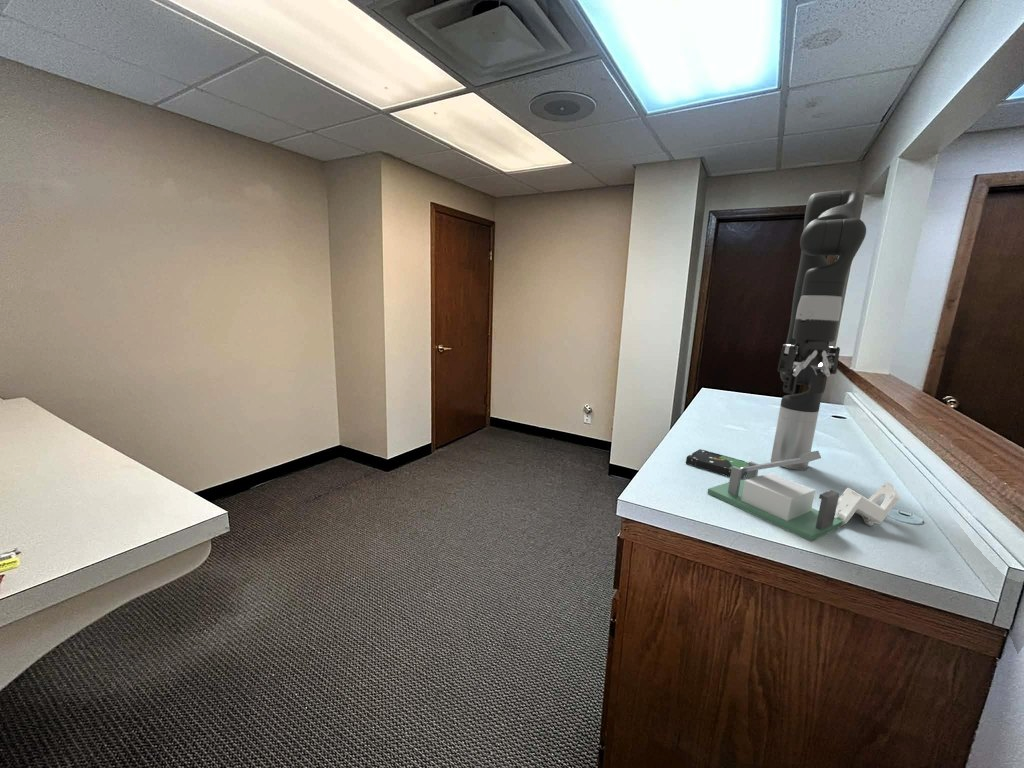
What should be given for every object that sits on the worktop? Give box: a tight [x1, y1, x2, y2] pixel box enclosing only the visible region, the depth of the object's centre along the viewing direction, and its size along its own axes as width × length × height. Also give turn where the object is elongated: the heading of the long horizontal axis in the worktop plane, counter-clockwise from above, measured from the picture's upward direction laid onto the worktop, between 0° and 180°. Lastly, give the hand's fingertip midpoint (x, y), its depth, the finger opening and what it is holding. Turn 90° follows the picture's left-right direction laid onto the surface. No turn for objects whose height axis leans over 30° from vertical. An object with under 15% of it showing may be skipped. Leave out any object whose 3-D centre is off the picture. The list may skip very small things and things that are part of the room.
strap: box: [741, 450, 822, 473], centre depth 93 cm, size 5×17×2 cm, turn 30°
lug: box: [816, 489, 840, 530], centre depth 85 cm, size 5×2×7 cm, turn 120°
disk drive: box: [685, 448, 749, 480], centre depth 118 cm, size 10×3×15 cm
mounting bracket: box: [834, 481, 901, 527], centre depth 91 cm, size 12×6×11 cm, turn 148°
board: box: [707, 461, 843, 542], centre depth 94 cm, size 13×23×8 cm, turn 30°
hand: (803, 393), depth 90 cm, fingers open, 8 cm apart
